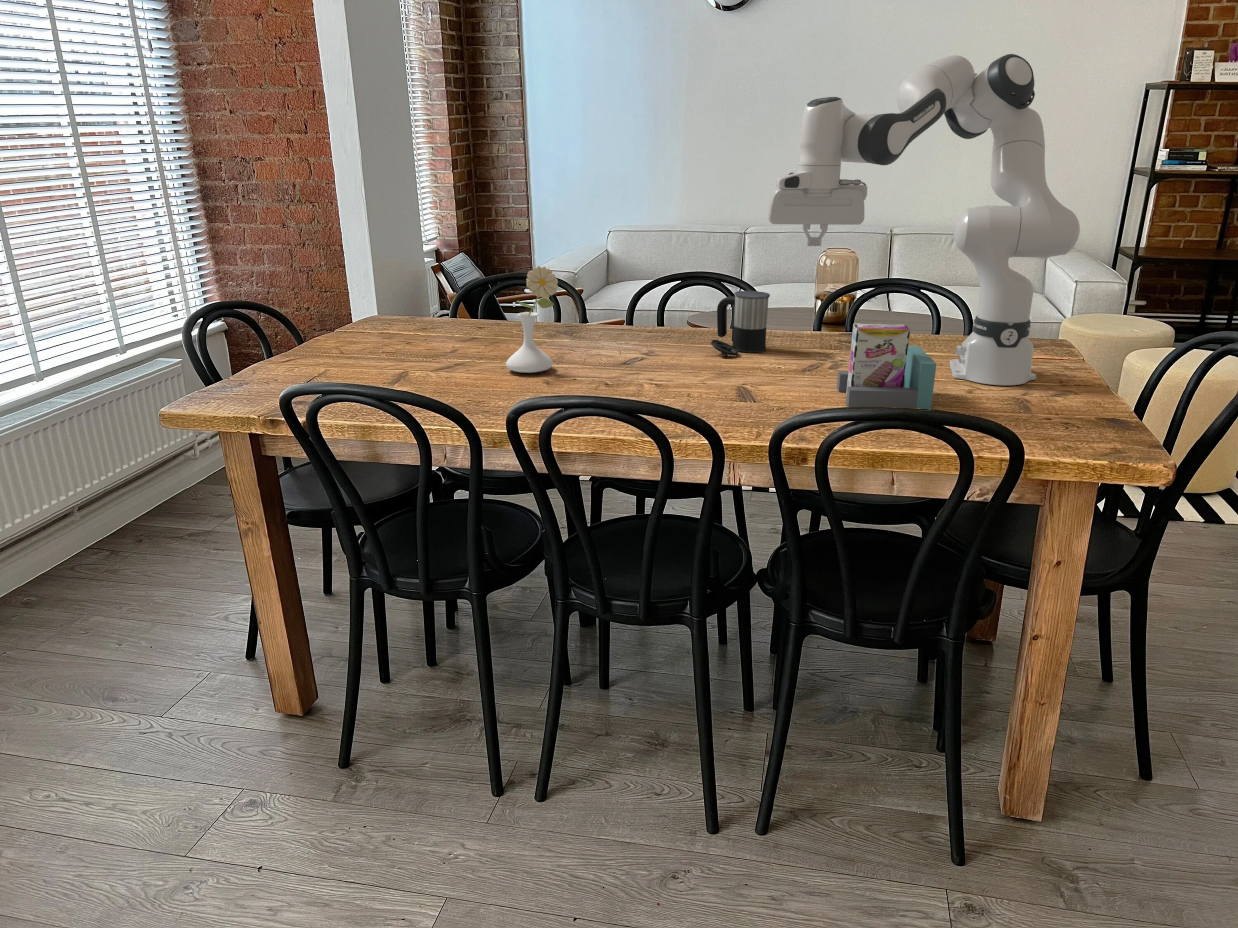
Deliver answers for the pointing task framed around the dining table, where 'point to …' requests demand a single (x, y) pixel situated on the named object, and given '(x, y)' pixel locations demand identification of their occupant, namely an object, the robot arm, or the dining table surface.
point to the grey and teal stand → (910, 396)
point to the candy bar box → (878, 355)
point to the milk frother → (743, 322)
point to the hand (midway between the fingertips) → (813, 245)
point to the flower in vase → (529, 354)
